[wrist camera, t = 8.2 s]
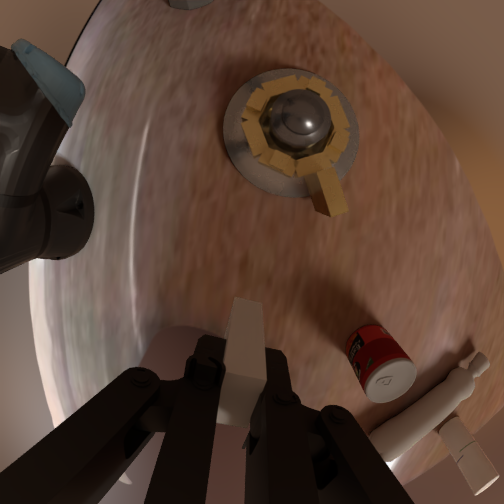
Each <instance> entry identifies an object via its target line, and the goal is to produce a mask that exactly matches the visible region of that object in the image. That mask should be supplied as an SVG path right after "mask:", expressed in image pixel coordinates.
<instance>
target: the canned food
mask: <svg viewBox="0 0 504 504" xmlns="http://www.w3.org/2000/svg"><path fill="white" fill-rule="evenodd" d="M346 355H347V358H348V360H349V362H350V364H351V366H352V368H353V370H354V372H355V374H356V376H357V378H358V380H359V382H360V384H361V386H362V388H363V390H364V392H365V394H366V396H367V397H368V399H369V400H371V401H373V402H376V403H385V402H389V401H392V400H394V399H397V398H398V397H400V396H401V395H403V394H404V393H405V392H406V391H407V390H408V389H409V388H410V387H411V386H412V384H413V383H414V381H415V378H416V374H417V370H416V367H415V365H414V363H413V362H412V360H411V359H410V358H409V357H408V355H407V354H406V353H405V352H404V350H403V349H402V348H401V347H400V346H399V344H398V343H397V342H396V341H395V340H394V339H393V337H392V336H391V335H390V334H389V333H388V331H387V330H386V329H384V328H382V327H380V326H378V325H367V326H364V327H361V328H359V329H358V330H356V331H355V332H354V333H353V334H352V335H351V336H350V338H349V339H348V342H347V345H346Z"/></svg>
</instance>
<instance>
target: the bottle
mask: <svg viewBox="0 0 504 504" xmlns="http://www.w3.org/2000/svg"><path fill="white" fill-rule="evenodd" d="M489 366H490V363H489V361H488V359H487V358H486V356H485V355H484V354H482V353H481V352H478V353H477V355H476V356H475V357H474V359H473V360H472V361H471V362H469V366H468V369H464V368H462V367H458V368H456V369H453V370H451V372H450V373H449V374H448V376H447V379H446V380H445V381H443V382H442V383H440V384H439V385H437V386H436V387H434V388H433V389H432V390H431V391H429V392H428V393H427V394H426V395H424V396H423V397H422V398H420V399H419V400H418V401H416V402H415V403H414V404H412V405H411V406H410V407H408V408H407V409H406V410H404V411H403V412H401V413H400V414H398V415H397V416H395V417H393V418H391V419H389V420H388V421H386V422H385V423H384V424H382V425H381V426H379V427H378V428H376V429H375V430H373V431H372V432H371V434H370V436H369V440H370V441H371V443H372V444H373V446H374V447H375V448H376V450H377V451H378V453H380V456H381V457H382V458H383V460H384V461H385V462H390V461H392V460H394V459H395V458H397V457H399V456H400V455H402V454H403V453H405V452H406V451H408V450H409V449H410V448H411V447H412V446H413V445H414V444H415V443H417V442H418V441H419V440H420V439H422V438H423V437H424V436H425V435H427V434H428V433H429V432H430V431H431V430H432V429H434V428H435V427H436V426H437V425H438V424H439V423H440V422H442V421H443V420H444V419H445V418H446V417H447V416H448V415H449V414H450V413H451V412H452V411H453V410H454V409H455V408H456V407H457V406H458V404H459V403H460V402H461V400H464V399H466V398H468V397H469V396H471V394H472V392H473V390H474V388H475V382H474V378H475V377H477V376H479V377H480V374H482V373H483V372H484V371H485V370H486V369H487V368H488V367H489Z"/></svg>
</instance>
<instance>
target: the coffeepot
mask: <svg viewBox="0 0 504 504" xmlns="http://www.w3.org/2000/svg"><path fill="white" fill-rule="evenodd" d="M168 1H169V4H170V6H171V7H174V8H178V9H184V10H191V9H196V8H199V7H202V6H205V5H207V4H209V3H211V2H212V1H213V0H168Z"/></svg>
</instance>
